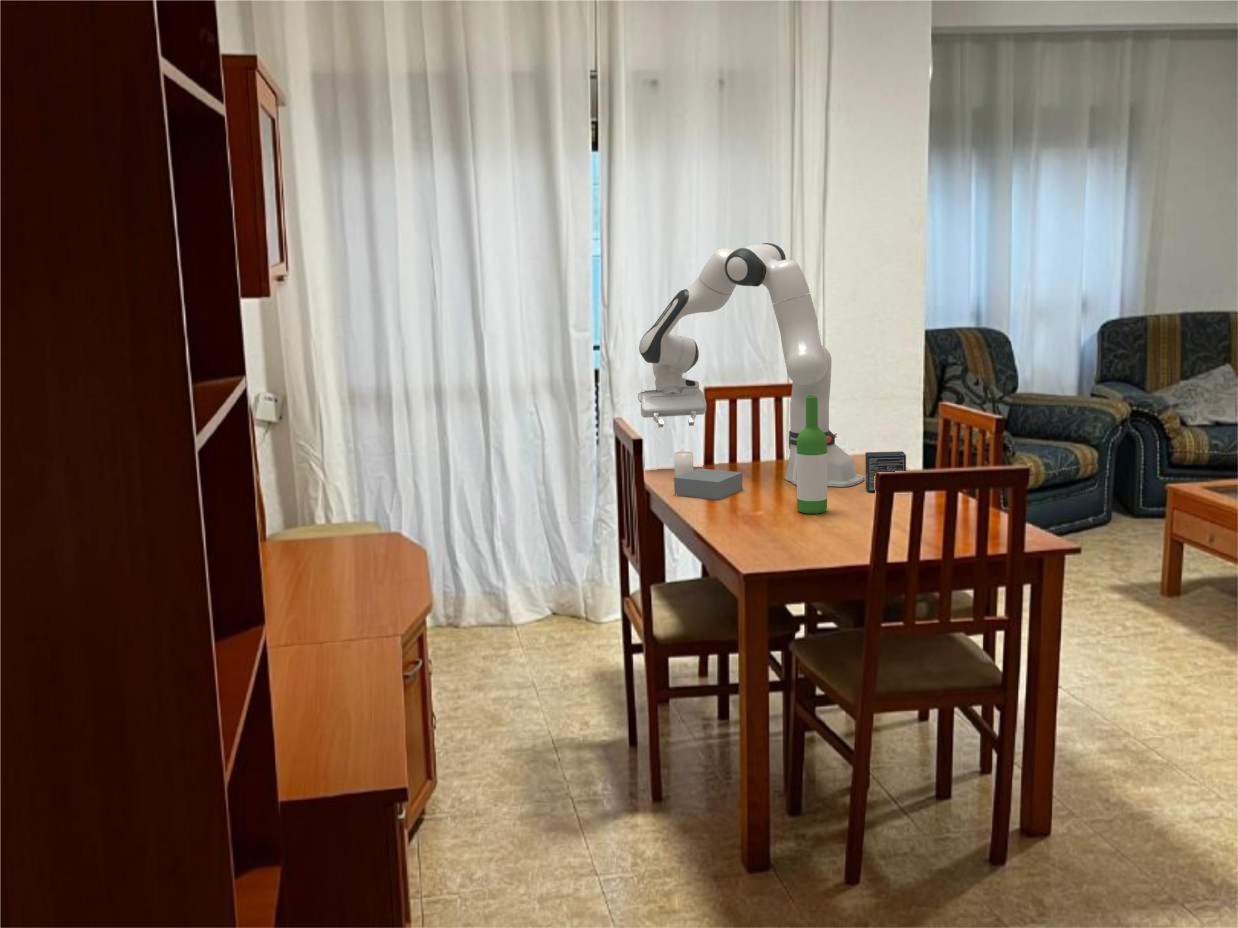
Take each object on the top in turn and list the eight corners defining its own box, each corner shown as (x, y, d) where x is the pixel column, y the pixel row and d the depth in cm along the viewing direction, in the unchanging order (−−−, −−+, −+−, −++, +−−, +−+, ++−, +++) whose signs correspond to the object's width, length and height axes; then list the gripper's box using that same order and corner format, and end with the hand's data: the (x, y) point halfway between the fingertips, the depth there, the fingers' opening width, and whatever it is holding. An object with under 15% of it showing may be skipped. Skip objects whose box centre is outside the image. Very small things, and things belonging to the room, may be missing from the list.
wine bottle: (804, 516, 300) (803, 399, 294) (792, 509, 307) (791, 395, 301) (832, 513, 302) (832, 397, 296) (819, 506, 309) (819, 393, 303)
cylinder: (696, 478, 349) (696, 452, 347) (687, 482, 344) (686, 455, 343) (680, 477, 352) (680, 451, 350) (671, 480, 347) (670, 454, 346)
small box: (903, 487, 328) (903, 450, 326) (906, 492, 322) (907, 454, 320) (864, 488, 329) (865, 451, 327) (867, 493, 323) (867, 455, 321)
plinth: (742, 489, 332) (742, 472, 331) (718, 500, 321) (718, 482, 320) (699, 485, 340) (699, 468, 339) (674, 495, 328) (674, 477, 327)
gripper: (637, 384, 361) (643, 421, 354) (703, 381, 363) (710, 417, 356) (636, 397, 366) (641, 433, 359) (701, 393, 369) (707, 429, 361)
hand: (676, 425), depth 357 cm, fingers open, 8 cm apart
